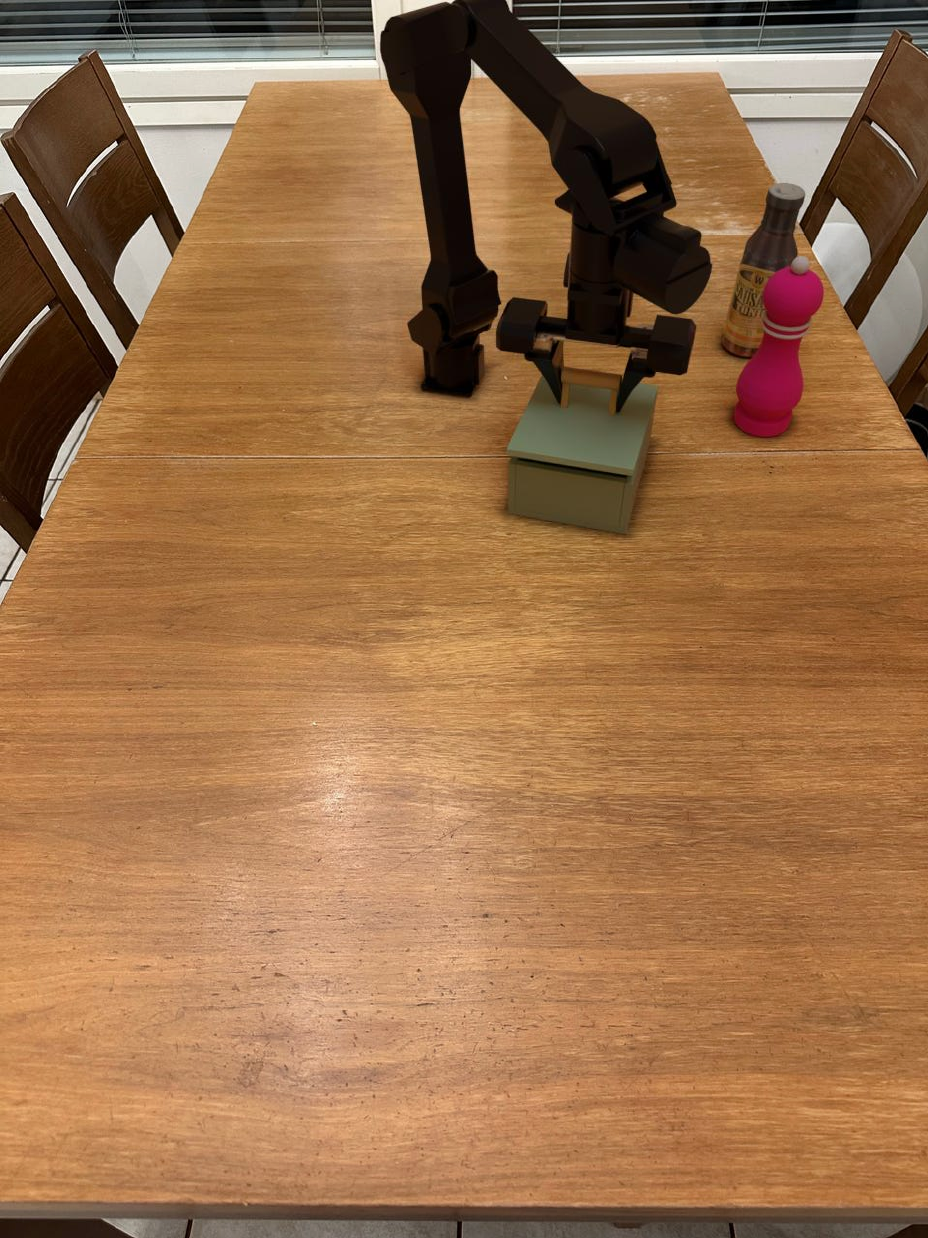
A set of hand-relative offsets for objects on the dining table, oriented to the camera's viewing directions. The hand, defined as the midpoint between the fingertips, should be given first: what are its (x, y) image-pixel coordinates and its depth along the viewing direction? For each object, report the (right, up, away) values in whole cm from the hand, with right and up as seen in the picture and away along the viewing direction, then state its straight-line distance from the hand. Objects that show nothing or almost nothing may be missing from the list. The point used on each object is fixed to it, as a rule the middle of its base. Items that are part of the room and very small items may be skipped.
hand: (589, 405), depth 98 cm
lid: (-1, -2, -1) cm, 2 cm away
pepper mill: (+21, +1, +11) cm, 24 cm away
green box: (0, -7, +5) cm, 8 cm away
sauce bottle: (+23, +12, +21) cm, 33 cm away
